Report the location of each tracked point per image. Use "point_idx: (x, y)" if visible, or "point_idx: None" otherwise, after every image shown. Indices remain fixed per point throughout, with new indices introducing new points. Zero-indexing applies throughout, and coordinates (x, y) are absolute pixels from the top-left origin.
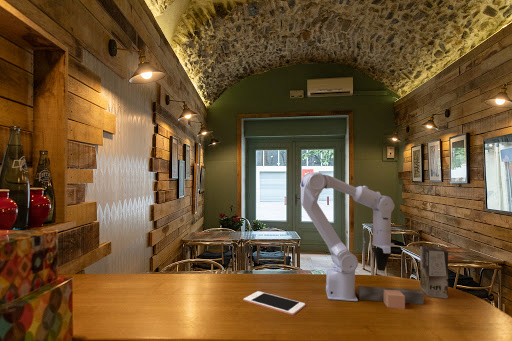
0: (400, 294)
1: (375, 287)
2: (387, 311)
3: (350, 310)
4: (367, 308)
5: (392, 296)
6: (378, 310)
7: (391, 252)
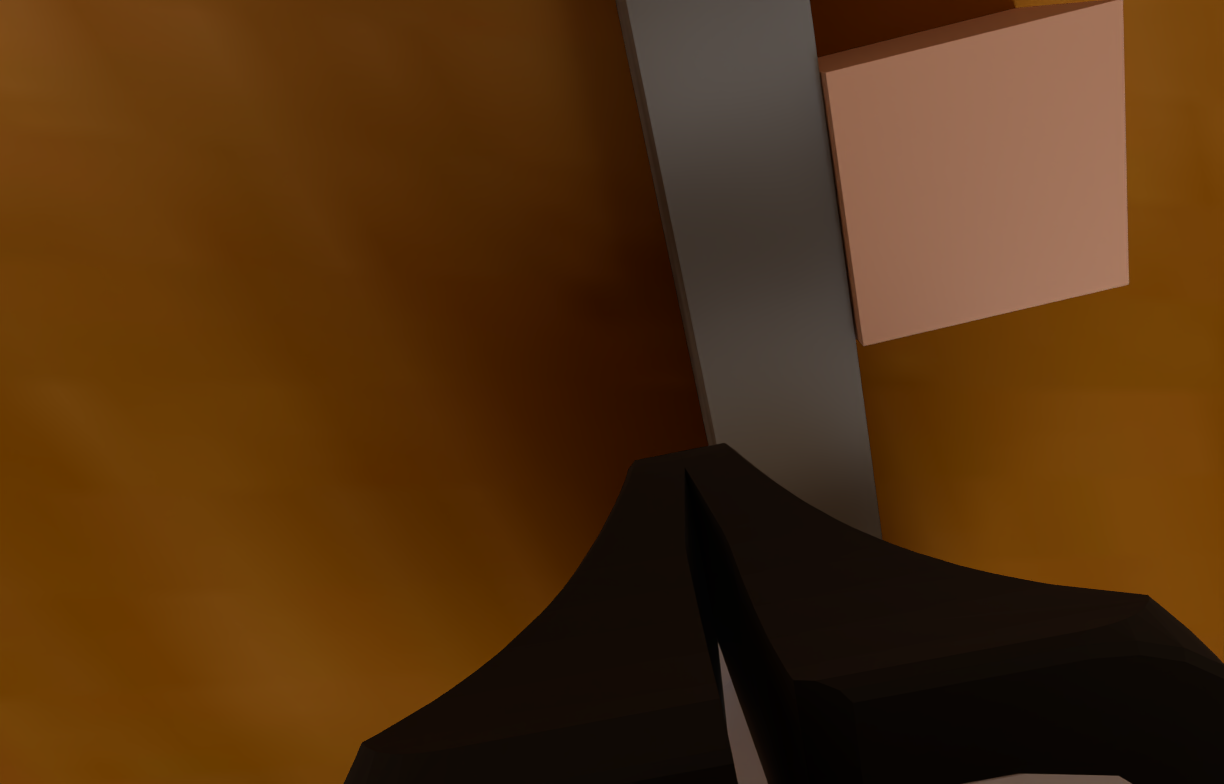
0: (1045, 73)
1: (750, 456)
2: (1167, 256)
3: (1221, 635)
4: (1123, 478)
5: (1117, 214)
6: (1158, 360)
7: (1154, 617)
